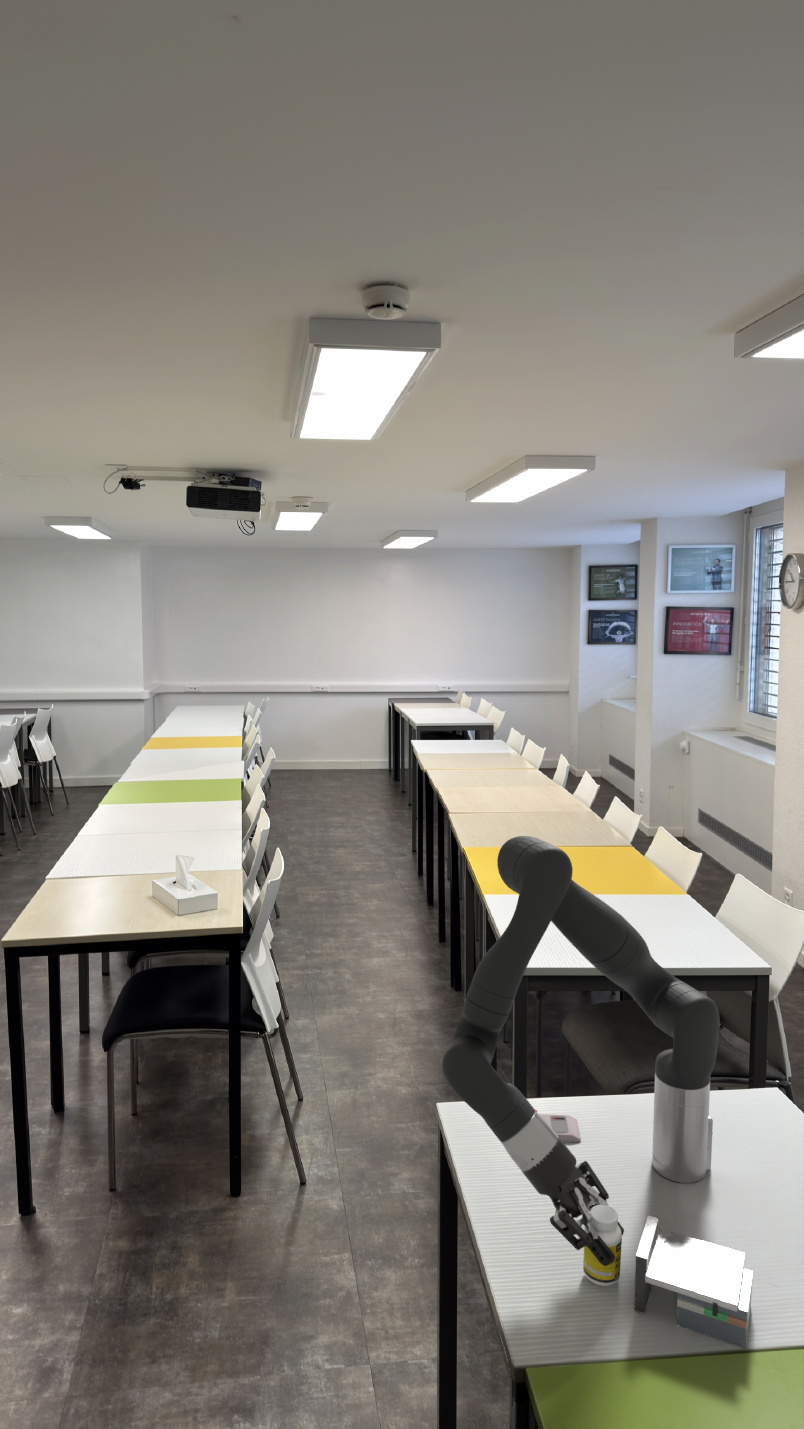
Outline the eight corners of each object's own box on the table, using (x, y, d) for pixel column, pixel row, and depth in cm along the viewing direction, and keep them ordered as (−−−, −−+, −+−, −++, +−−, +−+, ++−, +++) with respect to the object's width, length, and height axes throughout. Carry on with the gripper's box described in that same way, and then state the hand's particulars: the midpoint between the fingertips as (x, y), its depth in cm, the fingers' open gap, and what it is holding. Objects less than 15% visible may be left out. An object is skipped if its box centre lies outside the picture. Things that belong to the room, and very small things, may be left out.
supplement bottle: (621, 1290, 129) (623, 1228, 127) (582, 1284, 130) (584, 1223, 129) (619, 1262, 134) (621, 1203, 133) (583, 1257, 135) (584, 1198, 134)
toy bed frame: (633, 1313, 125) (634, 1258, 124) (647, 1263, 134) (649, 1212, 133) (735, 1348, 119) (737, 1291, 118) (742, 1294, 128) (745, 1240, 127)
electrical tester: (590, 1144, 165) (591, 1129, 165) (506, 1141, 166) (506, 1126, 166) (586, 1123, 172) (586, 1108, 171) (504, 1120, 173) (504, 1105, 172)
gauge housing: (676, 1326, 123) (677, 1290, 123) (685, 1285, 131) (686, 1251, 130) (745, 1349, 120) (747, 1312, 119) (750, 1306, 127) (752, 1271, 126)
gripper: (541, 1167, 126) (623, 1271, 123) (568, 1114, 139) (643, 1207, 135) (505, 1190, 129) (584, 1293, 126) (535, 1136, 142) (607, 1228, 139)
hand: (614, 1248), depth 131 cm, fingers closed on supplement bottle, 5 cm apart
